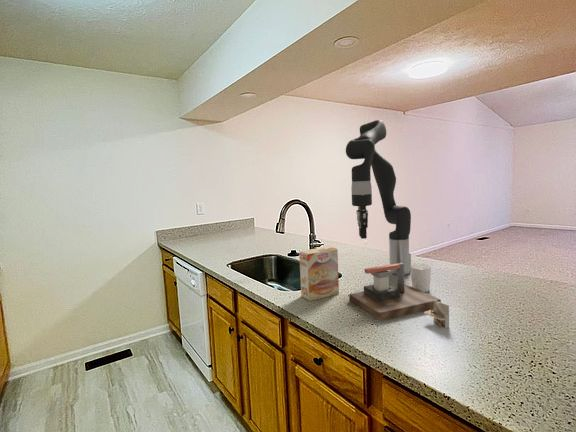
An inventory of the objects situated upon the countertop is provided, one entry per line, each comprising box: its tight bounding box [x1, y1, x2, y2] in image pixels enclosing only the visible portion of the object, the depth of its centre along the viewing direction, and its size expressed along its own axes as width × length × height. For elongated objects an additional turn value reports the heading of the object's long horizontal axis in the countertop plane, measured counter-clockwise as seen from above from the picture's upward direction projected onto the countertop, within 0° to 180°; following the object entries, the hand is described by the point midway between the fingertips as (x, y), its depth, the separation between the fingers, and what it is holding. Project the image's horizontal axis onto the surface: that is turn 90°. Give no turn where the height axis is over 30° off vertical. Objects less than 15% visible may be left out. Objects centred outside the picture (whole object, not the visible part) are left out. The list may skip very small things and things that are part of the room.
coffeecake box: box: [298, 245, 340, 302], centre depth 137 cm, size 15×7×20 cm, turn 117°
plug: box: [370, 270, 392, 291], centre depth 125 cm, size 5×5×10 cm
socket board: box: [348, 283, 442, 322], centre depth 124 cm, size 26×20×6 cm
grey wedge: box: [423, 300, 450, 329], centre depth 106 cm, size 3×7×7 cm, turn 26°
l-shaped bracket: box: [364, 263, 405, 292], centre depth 125 cm, size 17×3×11 cm, turn 109°
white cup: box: [410, 263, 432, 293], centre depth 137 cm, size 8×8×10 cm
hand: (362, 237), depth 127 cm, fingers open, 3 cm apart
